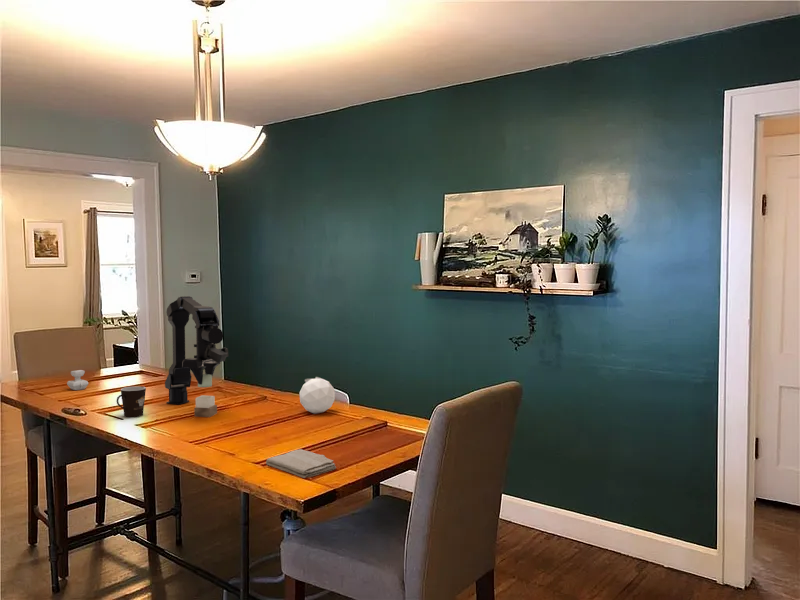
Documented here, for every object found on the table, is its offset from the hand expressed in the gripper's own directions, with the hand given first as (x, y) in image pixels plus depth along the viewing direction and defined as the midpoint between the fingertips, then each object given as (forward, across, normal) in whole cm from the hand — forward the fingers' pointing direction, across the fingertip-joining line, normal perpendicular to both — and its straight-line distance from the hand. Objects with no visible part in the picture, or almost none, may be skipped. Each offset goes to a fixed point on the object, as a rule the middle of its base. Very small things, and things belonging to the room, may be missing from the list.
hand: (204, 383), depth 235 cm
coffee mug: (+12, -11, +25) cm, 30 cm away
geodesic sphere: (+12, +18, -37) cm, 43 cm away
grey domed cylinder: (+1, 0, 0) cm, 1 cm away
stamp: (+12, +22, +82) cm, 86 cm away
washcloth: (+13, -42, -62) cm, 76 cm away
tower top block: (+9, 0, 0) cm, 9 cm away
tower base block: (+12, 0, 0) cm, 12 cm away
